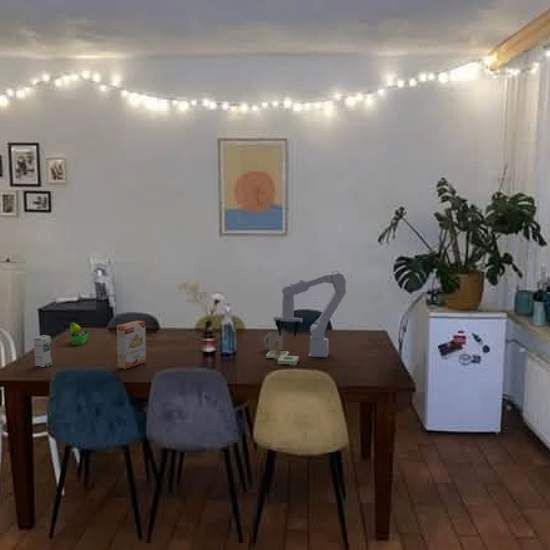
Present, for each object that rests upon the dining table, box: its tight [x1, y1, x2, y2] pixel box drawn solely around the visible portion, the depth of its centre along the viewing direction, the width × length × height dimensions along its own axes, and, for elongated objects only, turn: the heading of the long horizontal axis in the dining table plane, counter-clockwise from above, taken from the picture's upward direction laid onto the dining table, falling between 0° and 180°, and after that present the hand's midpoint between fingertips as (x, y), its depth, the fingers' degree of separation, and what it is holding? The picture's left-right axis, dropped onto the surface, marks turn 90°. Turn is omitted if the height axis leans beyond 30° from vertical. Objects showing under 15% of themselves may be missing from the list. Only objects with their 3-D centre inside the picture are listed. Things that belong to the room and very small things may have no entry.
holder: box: [277, 355, 300, 366], centre depth 335 cm, size 9×9×2 cm
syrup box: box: [33, 334, 53, 368], centre depth 330 cm, size 6×6×14 cm
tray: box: [265, 350, 290, 360], centre depth 345 cm, size 10×9×2 cm
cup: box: [263, 331, 283, 351], centre depth 359 cm, size 7×10×9 cm
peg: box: [275, 340, 281, 355], centre depth 345 cm, size 3×3×8 cm
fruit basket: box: [69, 322, 90, 346], centre depth 376 cm, size 11×9×11 cm
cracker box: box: [116, 320, 147, 370], centre depth 329 cm, size 14×6×21 cm, turn 148°
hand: (287, 335), depth 346 cm, fingers open, 7 cm apart
